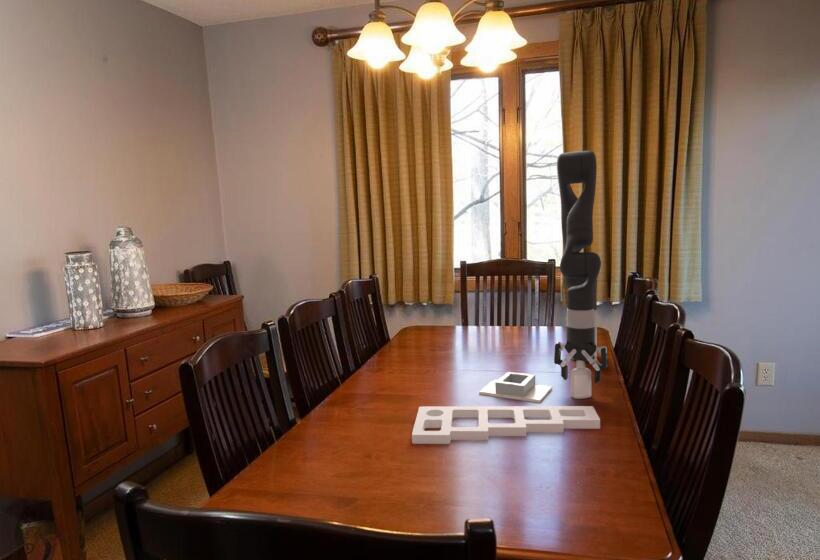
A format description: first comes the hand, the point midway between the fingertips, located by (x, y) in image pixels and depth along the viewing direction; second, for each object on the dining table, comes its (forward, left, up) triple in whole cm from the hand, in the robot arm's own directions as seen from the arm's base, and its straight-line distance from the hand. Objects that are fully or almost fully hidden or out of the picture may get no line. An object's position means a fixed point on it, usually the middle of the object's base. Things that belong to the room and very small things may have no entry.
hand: (580, 380), depth 153 cm
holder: (+28, -12, -5) cm, 31 cm away
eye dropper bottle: (0, 0, -5) cm, 5 cm away
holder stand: (+3, -18, -5) cm, 19 cm away
